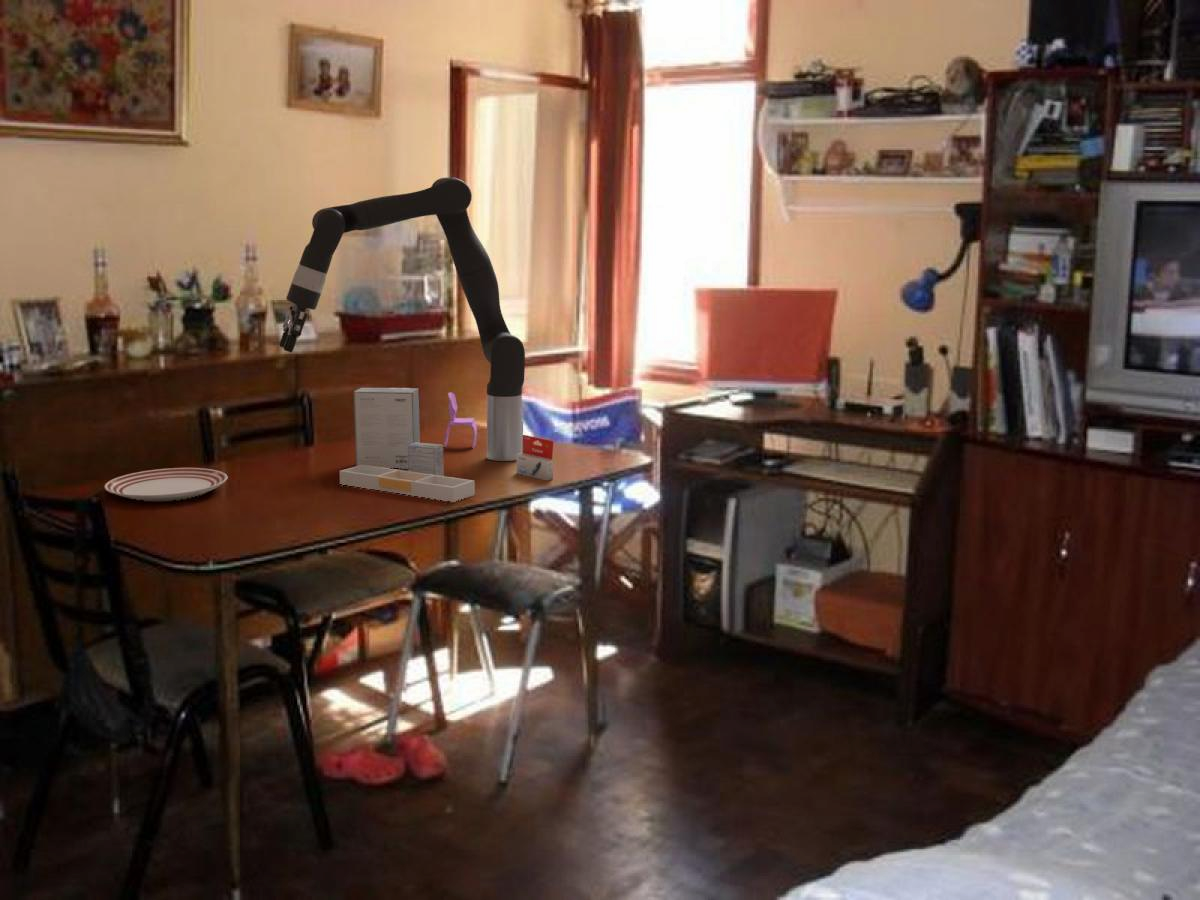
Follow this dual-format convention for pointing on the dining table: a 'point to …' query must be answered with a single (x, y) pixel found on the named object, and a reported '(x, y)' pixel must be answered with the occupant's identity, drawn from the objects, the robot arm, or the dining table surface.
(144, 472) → the dinner plate
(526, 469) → the ink cartridge box
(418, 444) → the medicine box
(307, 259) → the robot arm
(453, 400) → the toy chair
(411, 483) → the compartment tray
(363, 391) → the hard drive box
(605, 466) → the dining table surface
